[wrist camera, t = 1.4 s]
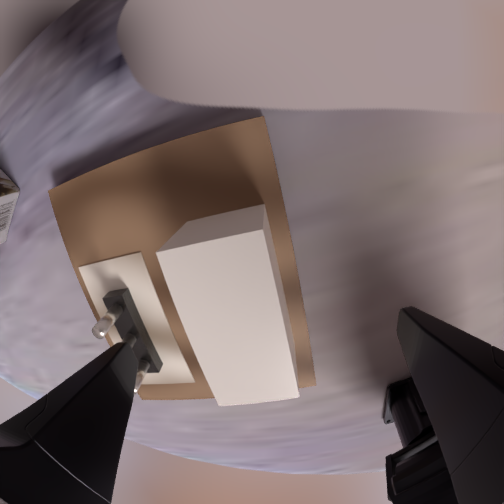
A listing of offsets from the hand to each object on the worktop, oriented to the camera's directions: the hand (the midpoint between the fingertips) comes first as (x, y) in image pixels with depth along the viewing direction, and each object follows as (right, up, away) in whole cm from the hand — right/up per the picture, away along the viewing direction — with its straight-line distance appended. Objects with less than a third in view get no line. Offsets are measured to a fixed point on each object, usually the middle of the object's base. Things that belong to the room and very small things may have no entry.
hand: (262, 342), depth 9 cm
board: (-5, 0, +12) cm, 13 cm away
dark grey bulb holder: (-9, -3, +12) cm, 15 cm away
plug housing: (-1, +1, +10) cm, 10 cm away
